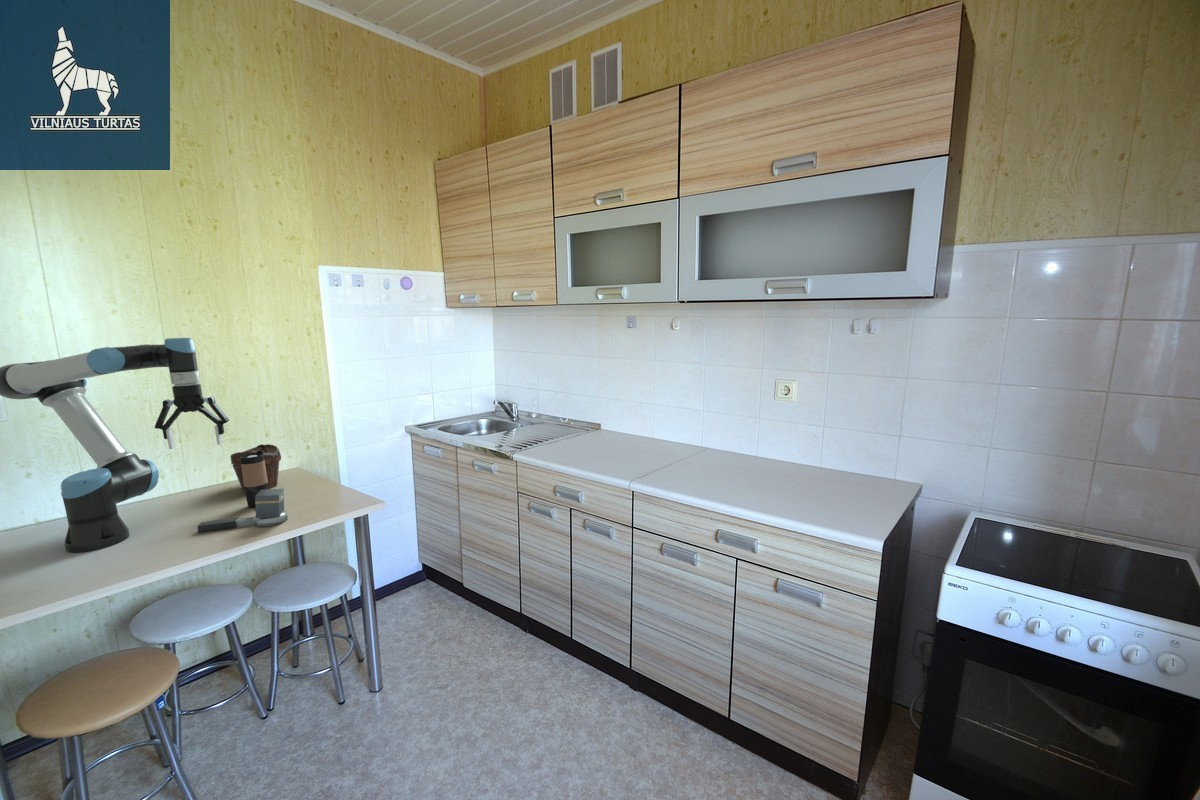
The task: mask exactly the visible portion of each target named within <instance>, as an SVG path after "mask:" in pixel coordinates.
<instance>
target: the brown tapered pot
mask: <svg viewBox="0 0 1200 800" xmlns="http://www.w3.org/2000/svg"><path fill="white" fill-rule="evenodd" d="M250 453H263V454H264V461H265V467H266V474H267V480H268V489H273V488H274V487H277V486H278V484H279V483H278V479H279V470H280V469H279V468H280V461H281V459H282V455H281V452H280V449H279V448H278V447H277V445H274V444H270V443H269V444H259V445H257V446H255V447H253V448H250V449H247V450H245V451H239V452H235V453H231V455H230V457H229V458H230V461H231V463H230V465H232V468H233V470H234V472H235V473H234V474H235V476H236V477H237V480H238V483H239V486H240V487H241V490H242V491H243V492H245V489H244V483H243V475H242V468H241V461H240V457H241V456H242V455H246V454H250Z"/></svg>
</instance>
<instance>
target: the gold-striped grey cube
mask: <svg viewBox="0 0 1200 800" xmlns="http://www.w3.org/2000/svg"><path fill="white" fill-rule="evenodd" d="M255 504H256V508H255V516H256V518H271V517H280V515H281V514H282V512H283V511H284V510H285V489H284V488H269V489H261V490H260V491H259V493H258V494H257V495H256V496H255Z"/></svg>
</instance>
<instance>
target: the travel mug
mask: <svg viewBox="0 0 1200 800" xmlns="http://www.w3.org/2000/svg"><path fill="white" fill-rule="evenodd" d="M240 461H241V468H242V475H243V483H244V489H245V491H244V494H245V497H246V503H247V508H248V509H253V510H254V509H255V510H256V504H255V496H256V495H257V494H258V493H259V491H260V490H261V489H268V480H267V474H266V467H265V461H264V454H263V453H250V454H246V455H242V456H241V457H240Z"/></svg>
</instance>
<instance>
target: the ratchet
mask: <svg viewBox="0 0 1200 800" xmlns="http://www.w3.org/2000/svg"><path fill="white" fill-rule="evenodd" d="M288 519H289V518H288V512H287V510H286V509H284V511H283V512H282V514H281V515H280V517H271V518H256V515H254V516H250V517H249V516H248V517H243V518H240V517H233V518H231V517H230V518H225V519H216V520H210V521H202V522H200V523H199V524H198V525H197V533H198V534H203V533H211V532H217V531H218V532H219V531H224V530H233V529H239V528H243V527H255V528H260V529H262V528H271V527H276V526H278V525H281V524H283V523H285V522H287V521H288Z"/></svg>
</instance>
